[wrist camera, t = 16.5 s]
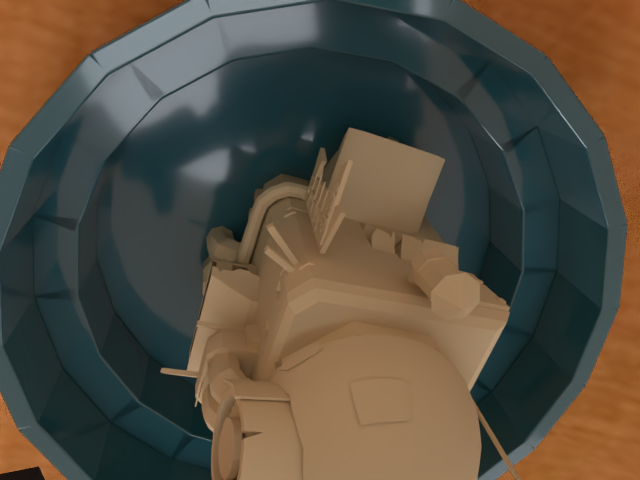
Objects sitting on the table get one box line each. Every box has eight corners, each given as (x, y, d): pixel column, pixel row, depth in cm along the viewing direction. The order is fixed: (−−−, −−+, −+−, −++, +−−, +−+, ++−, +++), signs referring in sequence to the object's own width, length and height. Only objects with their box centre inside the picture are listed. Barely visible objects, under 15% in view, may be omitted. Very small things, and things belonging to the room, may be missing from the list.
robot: (224, 79, 18) (205, 338, 5) (449, 143, 20) (883, 457, 7) (161, 347, 22) (49, 923, 9) (357, 380, 24) (520, 890, 10)
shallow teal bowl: (533, -61, 19) (658, -79, 13) (525, 383, 26) (602, 487, 21) (-41, 27, 17) (-165, 46, 12) (126, 467, 25) (97, 601, 20)
